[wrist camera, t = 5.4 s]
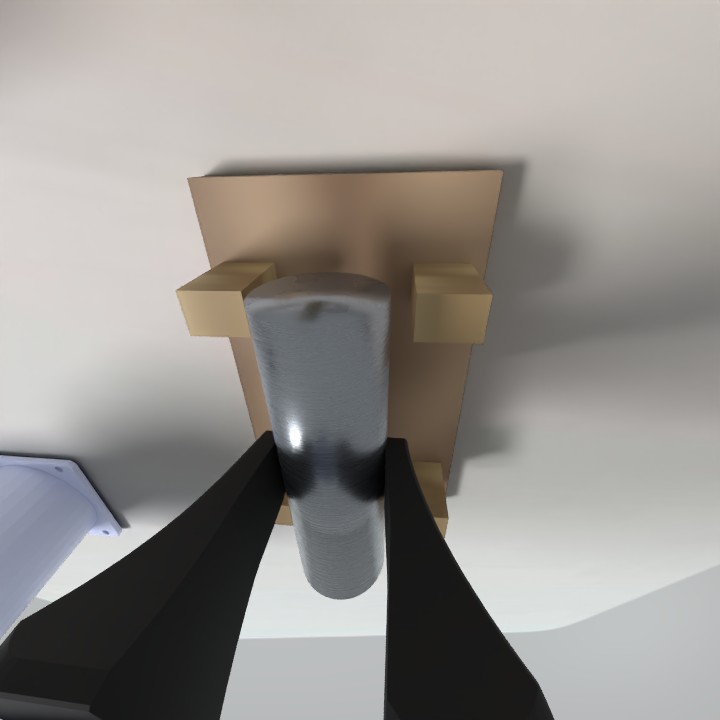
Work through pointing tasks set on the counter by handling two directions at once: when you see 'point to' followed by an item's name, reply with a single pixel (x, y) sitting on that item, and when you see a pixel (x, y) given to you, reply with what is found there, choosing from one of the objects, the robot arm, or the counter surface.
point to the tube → (328, 416)
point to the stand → (369, 258)
